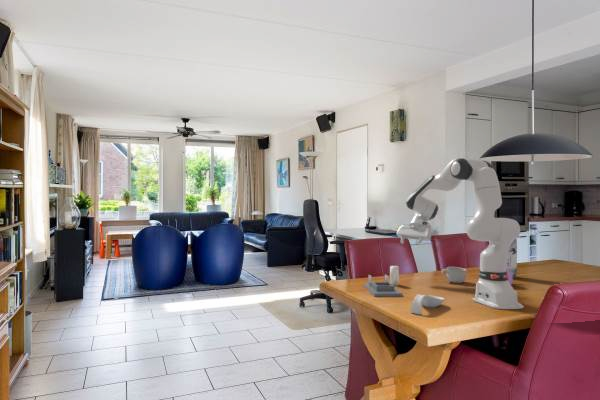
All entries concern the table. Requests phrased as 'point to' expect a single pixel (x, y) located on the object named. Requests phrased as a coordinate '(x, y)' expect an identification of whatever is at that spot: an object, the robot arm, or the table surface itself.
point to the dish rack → (382, 288)
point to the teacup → (455, 274)
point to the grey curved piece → (425, 302)
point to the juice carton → (512, 259)
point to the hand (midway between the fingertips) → (409, 243)
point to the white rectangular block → (394, 275)
